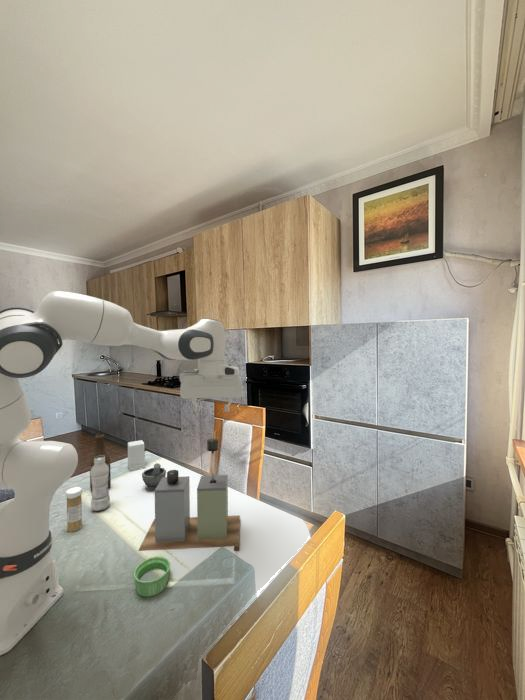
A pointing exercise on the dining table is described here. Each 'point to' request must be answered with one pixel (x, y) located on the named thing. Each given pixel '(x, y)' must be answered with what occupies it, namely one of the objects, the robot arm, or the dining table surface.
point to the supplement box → (136, 455)
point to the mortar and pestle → (153, 476)
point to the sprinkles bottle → (74, 509)
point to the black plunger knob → (212, 455)
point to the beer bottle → (99, 451)
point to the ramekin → (156, 585)
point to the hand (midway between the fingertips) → (212, 411)
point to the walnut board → (194, 537)
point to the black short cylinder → (172, 477)
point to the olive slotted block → (212, 507)
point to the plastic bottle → (99, 484)
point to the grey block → (172, 510)
